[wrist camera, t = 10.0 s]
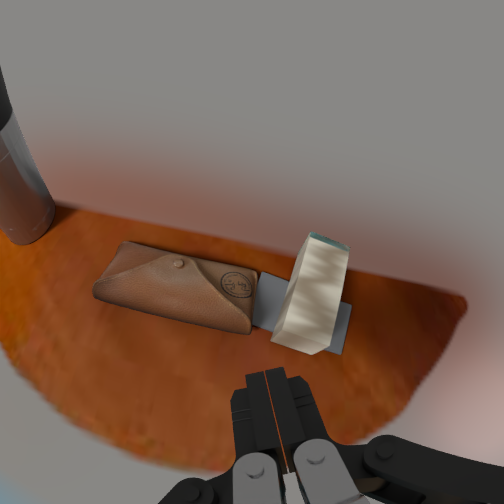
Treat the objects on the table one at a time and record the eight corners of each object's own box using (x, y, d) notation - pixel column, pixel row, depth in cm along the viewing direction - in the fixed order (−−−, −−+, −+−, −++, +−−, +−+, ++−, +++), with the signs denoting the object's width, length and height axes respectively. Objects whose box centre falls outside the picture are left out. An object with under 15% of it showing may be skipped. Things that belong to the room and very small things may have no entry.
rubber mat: (243, 321, 32) (243, 320, 32) (261, 272, 35) (262, 271, 35) (339, 354, 32) (341, 354, 31) (350, 306, 35) (351, 305, 35)
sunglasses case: (260, 267, 35) (265, 271, 28) (249, 324, 35) (251, 341, 28) (118, 239, 34) (94, 237, 27) (110, 294, 34) (86, 302, 27)
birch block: (281, 329, 27) (310, 231, 33) (270, 340, 31) (298, 252, 37) (329, 345, 27) (350, 247, 33) (311, 354, 31) (333, 266, 37)
